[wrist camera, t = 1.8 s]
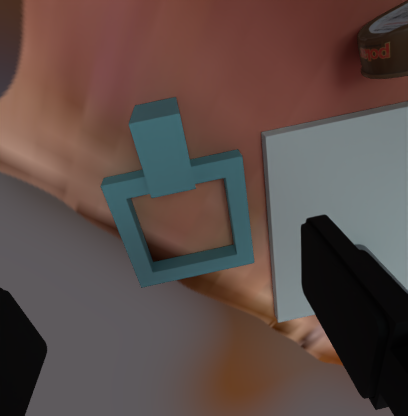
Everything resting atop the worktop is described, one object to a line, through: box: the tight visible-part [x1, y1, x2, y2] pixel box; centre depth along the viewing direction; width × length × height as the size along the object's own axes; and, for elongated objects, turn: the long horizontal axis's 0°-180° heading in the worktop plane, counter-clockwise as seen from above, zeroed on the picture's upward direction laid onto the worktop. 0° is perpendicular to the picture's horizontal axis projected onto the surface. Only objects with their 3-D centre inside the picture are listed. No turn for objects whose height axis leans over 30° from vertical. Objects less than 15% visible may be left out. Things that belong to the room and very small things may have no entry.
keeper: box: [261, 101, 408, 323], centre depth 24 cm, size 22×16×12 cm
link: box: [101, 97, 254, 288], centre depth 24 cm, size 16×11×5 cm
